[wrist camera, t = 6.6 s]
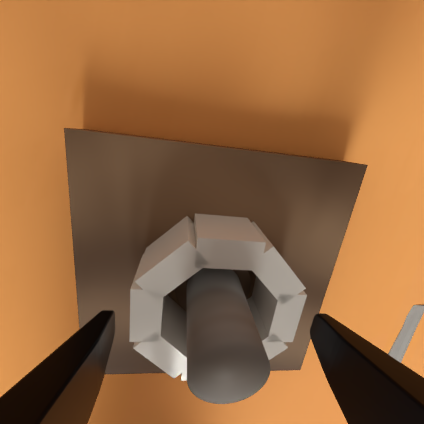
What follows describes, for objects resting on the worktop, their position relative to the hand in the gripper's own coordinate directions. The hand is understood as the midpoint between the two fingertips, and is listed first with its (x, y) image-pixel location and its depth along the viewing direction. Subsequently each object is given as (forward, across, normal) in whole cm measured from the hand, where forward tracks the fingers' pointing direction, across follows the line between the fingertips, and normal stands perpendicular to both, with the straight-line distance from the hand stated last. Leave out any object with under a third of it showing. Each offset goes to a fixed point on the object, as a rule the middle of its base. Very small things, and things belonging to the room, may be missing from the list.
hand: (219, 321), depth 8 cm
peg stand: (+4, 0, 0) cm, 4 cm away
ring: (+2, 0, 0) cm, 2 cm away
